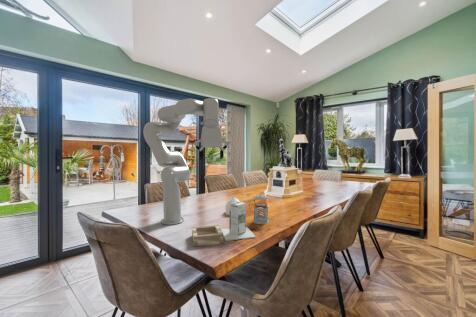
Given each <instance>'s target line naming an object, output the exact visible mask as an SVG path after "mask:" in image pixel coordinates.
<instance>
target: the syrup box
mask: <svg viewBox="0 0 476 317" xmlns="http://www.w3.org/2000/svg"><path fill="white" fill-rule="evenodd" d="M246 205H247V204H246V202H242V201H240V202H234V203H230V215H229V228H230V231H229V232H230V233H233V234H236V235H240V234H242V233H244V232H246V227H247V225H246V219H247V212H246V210H247V209H246V208H247V206H246Z"/></svg>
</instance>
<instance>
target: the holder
mask: <svg viewBox="0 0 476 317" xmlns="http://www.w3.org/2000/svg"><path fill="white" fill-rule="evenodd" d="M221 229H222V228H221V227H220V225H219V224H217V225H215V224H214V225H205V226H195V227H193V226H192V227H191V236H192V237H191V238H192V245H193V247H202V246H203V247H204V246H211V245H220V244H224V236H223V233H222V231H221Z"/></svg>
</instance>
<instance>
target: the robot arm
mask: <svg viewBox="0 0 476 317" xmlns="http://www.w3.org/2000/svg"><path fill="white" fill-rule="evenodd" d="M219 104H220V103H219V100H218V99H217V98H214V97H213V98H211V97H209V98H205V99H203V100H199V99H195V98H184V99H181V100H178V101H177V102H176V103H175V104H170V105H166V106H162V107H160V108H159V109H158V111H157V112H156V113H157V114H156V115H157V117H158V119H159V120H160V121H159V122H158V121H149V122H147V123H145V124H144V127H143V130H142V131H143V137H144V140H145V143H147V145H148V146H149V148H150V151H151V153H152V154H153V157H154V158H155V161H156V163H157V164H158V166H159V167H162V169H161V172H160V179H161V184H162V198H163V199H162V200H163V202H162V204H163V218H161V219H160V223H161V224H162V225H166V226H167V225H169V226H170V225H172V226H173V225H179V224H181V223H183V222H184V221H185V220H184V219H185V218H184V217H182V202H181V187H180V186H179V184H178V183H180V182H185V181H188V180H189V179H190V177H191V171H190V168H189V166H188V164H187V161H186V160H185V157H184V156H183V154H182V153H181V152H179V151H177V150H170V149H169V148H168V147H167V145H166V143H165V142H164V141H163V140H162V139H161V138H160V137H163V138H165V137H166V138H168V137H171V136H173V135H174V133H175V132H176V130H177V128H178V127H179V125H180V124H181V122H182V120H183V119H185V117H186V115H194V116H200V117H203V118H202V119H203V121H200V125H201V126H202V127H201V133H200V134H201V135H200V138H199V139H198V140H195V141H194V142H193V144H194V147H195V148H196V149H197V150H198V151H199V158H200V160H204V151H203V149H204V148H218V149H219V159H220V160H223V159H224V156H225V155H224V151H225V150H226V149H227V148H228V146H229V145H230V144H229V141H227V140H225V139H223V135H222V128H221V127H220V123H219V122H220V113H219V112H220V111H219V109H220V108H219V106H220V105H219ZM161 121H162V122H161ZM198 143H200V145H201V146H199V145H198ZM223 143H224V146H223Z"/></svg>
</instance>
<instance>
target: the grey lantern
mask: <svg viewBox="0 0 476 317" xmlns="http://www.w3.org/2000/svg"><path fill="white" fill-rule="evenodd" d="M258 180H259V181H262V180H263V178H262V177H259V178H258ZM267 199H269V197H268V196H267V195H265V194H262V193H259V194H257V195H255V196H254V197H253V198H252V199H251V200H250V201H249V204H248V208H249V210H250V212H251V213H253V220H252V223H253V224H256V225H257V224H258V225H266V224H270V220H269V211H268V210H269V207H268V204H267V203H265V202H264V203H263V202H257V203H256V202H255V201H256V200H260V201H262V200H267ZM252 202H254V208H253V209H254V210H252V209H251V203H252Z"/></svg>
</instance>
